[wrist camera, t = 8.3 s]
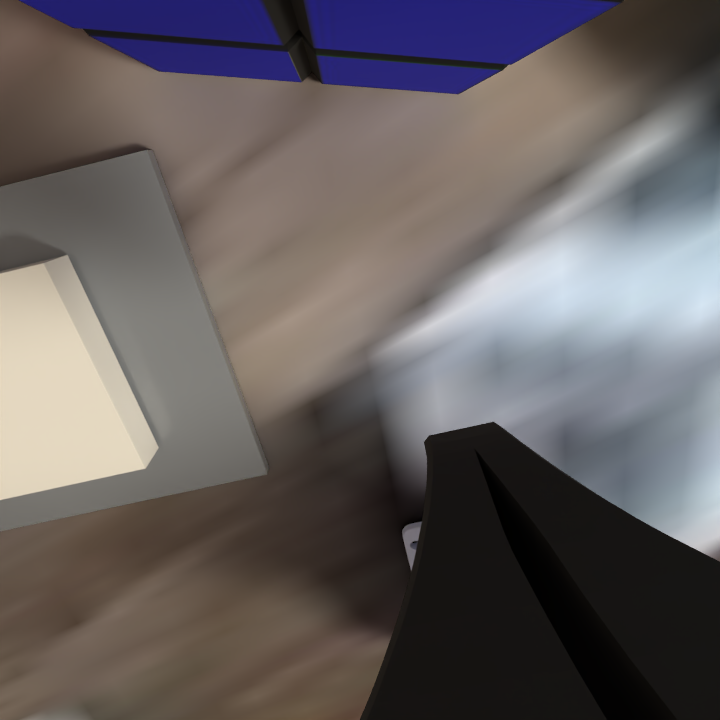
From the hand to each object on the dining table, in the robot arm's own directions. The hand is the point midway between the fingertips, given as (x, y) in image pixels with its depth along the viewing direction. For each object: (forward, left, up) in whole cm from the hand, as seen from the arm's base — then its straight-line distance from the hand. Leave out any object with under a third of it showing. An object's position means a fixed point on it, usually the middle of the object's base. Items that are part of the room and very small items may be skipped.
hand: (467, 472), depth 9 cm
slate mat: (+1, +14, -10) cm, 17 cm away
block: (+1, +11, -8) cm, 14 cm away
